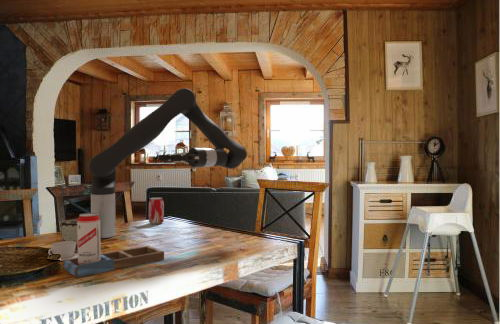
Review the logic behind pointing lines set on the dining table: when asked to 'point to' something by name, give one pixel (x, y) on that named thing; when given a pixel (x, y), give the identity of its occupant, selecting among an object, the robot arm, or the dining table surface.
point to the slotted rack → (114, 261)
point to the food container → (69, 231)
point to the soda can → (156, 210)
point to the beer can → (88, 238)
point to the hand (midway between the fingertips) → (164, 157)
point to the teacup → (64, 249)
